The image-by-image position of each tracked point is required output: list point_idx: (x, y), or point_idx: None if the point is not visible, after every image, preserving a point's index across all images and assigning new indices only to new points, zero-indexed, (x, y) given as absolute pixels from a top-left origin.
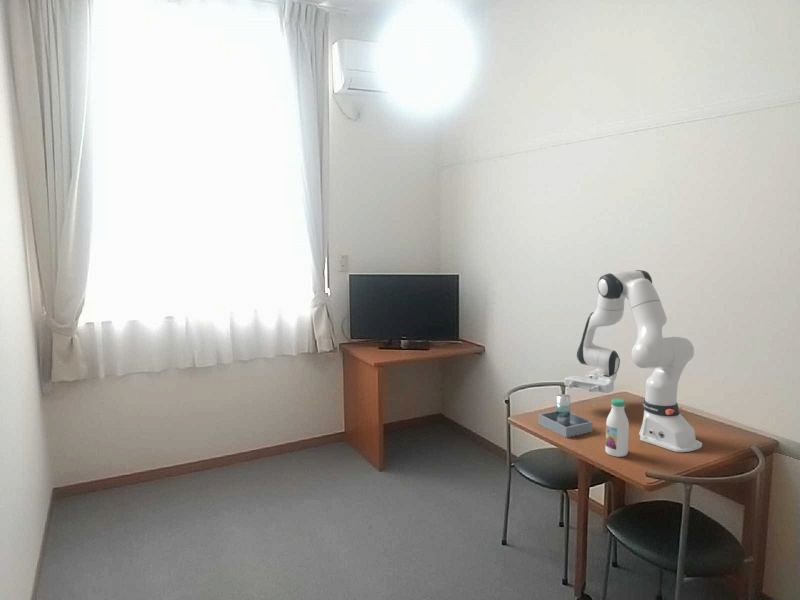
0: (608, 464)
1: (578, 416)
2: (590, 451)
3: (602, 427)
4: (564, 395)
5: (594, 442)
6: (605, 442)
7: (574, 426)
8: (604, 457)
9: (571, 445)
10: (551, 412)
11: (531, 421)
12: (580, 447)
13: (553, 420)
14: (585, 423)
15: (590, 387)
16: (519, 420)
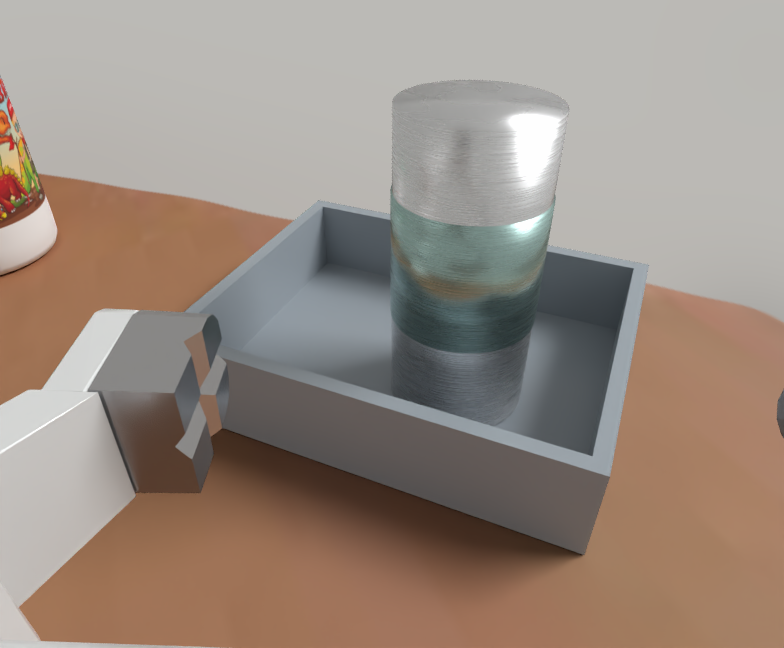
0: (48, 177)
1: (330, 382)
2: (144, 217)
3: (79, 568)
4: (486, 114)
5: (133, 290)
6: (41, 188)
7: (279, 236)
8: (66, 205)
9: (258, 222)
10: (617, 341)
11: (704, 344)
12: (205, 224)
13: (582, 411)
14: (211, 292)
15: (172, 315)
16: (775, 318)
